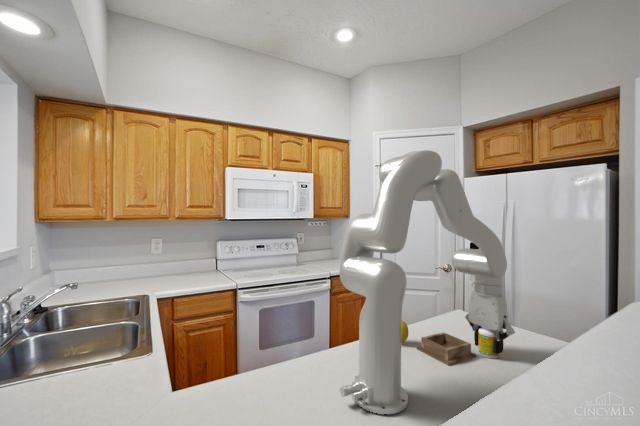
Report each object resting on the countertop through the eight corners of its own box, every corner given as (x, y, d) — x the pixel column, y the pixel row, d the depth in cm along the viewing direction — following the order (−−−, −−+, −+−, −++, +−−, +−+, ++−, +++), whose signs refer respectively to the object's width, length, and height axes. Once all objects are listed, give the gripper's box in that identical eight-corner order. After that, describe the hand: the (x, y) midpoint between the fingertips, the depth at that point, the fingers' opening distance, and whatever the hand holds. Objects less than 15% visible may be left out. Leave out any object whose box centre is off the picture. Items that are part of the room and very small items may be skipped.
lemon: (390, 345, 95) (390, 320, 96) (391, 339, 101) (391, 315, 101) (408, 348, 94) (408, 322, 94) (408, 341, 99) (408, 317, 99)
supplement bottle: (478, 356, 89) (478, 323, 89) (478, 349, 94) (478, 318, 94) (499, 360, 86) (499, 327, 86) (498, 353, 91) (498, 321, 91)
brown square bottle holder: (448, 365, 83) (448, 352, 83) (416, 348, 93) (416, 336, 93) (476, 357, 88) (476, 344, 88) (443, 342, 99) (443, 330, 99)
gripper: (455, 284, 96) (455, 340, 96) (509, 297, 81) (509, 363, 81) (470, 282, 100) (470, 336, 99) (525, 294, 84) (525, 358, 84)
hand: (488, 348), depth 90 cm, fingers closed on supplement bottle, 5 cm apart
